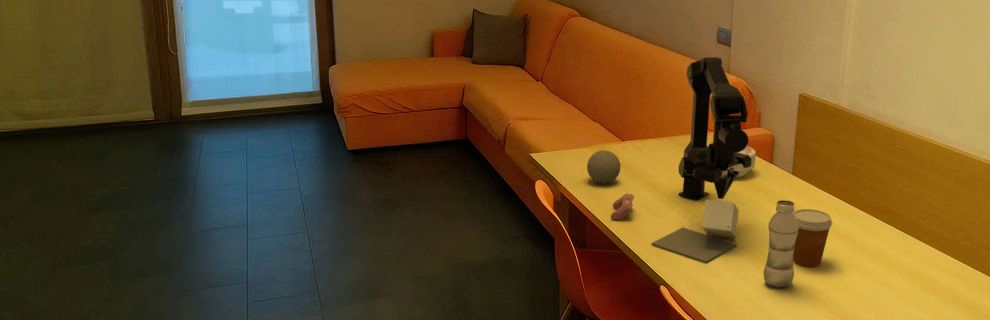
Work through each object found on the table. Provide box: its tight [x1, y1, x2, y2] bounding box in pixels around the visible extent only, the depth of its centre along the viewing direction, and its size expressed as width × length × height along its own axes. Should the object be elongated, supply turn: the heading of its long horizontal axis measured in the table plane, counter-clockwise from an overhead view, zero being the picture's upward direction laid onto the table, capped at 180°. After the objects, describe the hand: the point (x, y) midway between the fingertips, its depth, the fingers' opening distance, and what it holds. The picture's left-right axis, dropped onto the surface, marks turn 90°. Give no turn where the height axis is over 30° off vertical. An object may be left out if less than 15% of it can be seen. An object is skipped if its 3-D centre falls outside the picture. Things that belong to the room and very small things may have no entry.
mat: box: [650, 227, 738, 264], centre depth 227 cm, size 14×16×1 cm
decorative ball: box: [586, 149, 621, 185], centre depth 271 cm, size 10×10×10 cm
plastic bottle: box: [763, 199, 799, 288], centre depth 203 cm, size 6×7×20 cm
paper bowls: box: [707, 144, 757, 179], centre depth 278 cm, size 15×15×8 cm
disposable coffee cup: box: [793, 208, 833, 268], centre depth 216 cm, size 10×10×12 cm
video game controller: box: [610, 192, 635, 221], centre depth 247 cm, size 10×5×7 cm, turn 169°
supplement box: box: [701, 199, 740, 238], centre depth 228 cm, size 7×7×13 cm
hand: (720, 198), depth 232 cm, fingers closed
